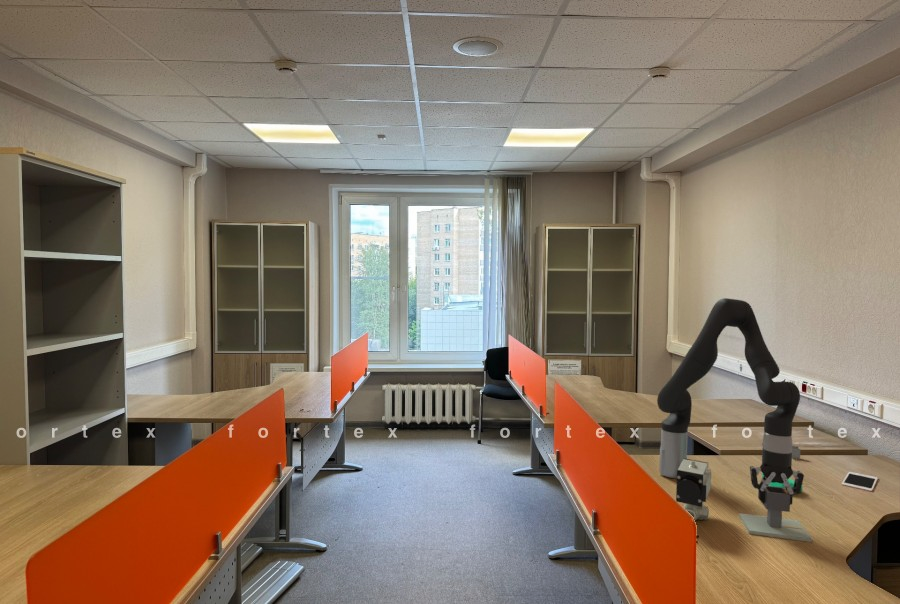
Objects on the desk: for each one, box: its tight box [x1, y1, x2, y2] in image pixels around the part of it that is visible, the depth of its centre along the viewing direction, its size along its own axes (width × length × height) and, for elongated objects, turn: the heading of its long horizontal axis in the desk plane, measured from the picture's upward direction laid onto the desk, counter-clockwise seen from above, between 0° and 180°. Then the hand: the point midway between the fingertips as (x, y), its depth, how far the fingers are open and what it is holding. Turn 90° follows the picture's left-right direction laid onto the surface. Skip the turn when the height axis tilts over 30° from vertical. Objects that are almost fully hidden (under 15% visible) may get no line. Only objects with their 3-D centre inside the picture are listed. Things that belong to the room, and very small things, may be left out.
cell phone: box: [841, 471, 879, 493], centre depth 198 cm, size 9×18×1 cm, turn 136°
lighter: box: [792, 444, 801, 460], centre depth 224 cm, size 7×2×8 cm, turn 59°
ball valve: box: [675, 458, 712, 521], centre depth 165 cm, size 18×8×18 cm, turn 148°
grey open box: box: [761, 485, 791, 513], centre depth 158 cm, size 6×6×5 cm
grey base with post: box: [739, 509, 813, 543], centre depth 159 cm, size 16×12×7 cm
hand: (775, 503), depth 159 cm, fingers closed on grey open box, 6 cm apart
